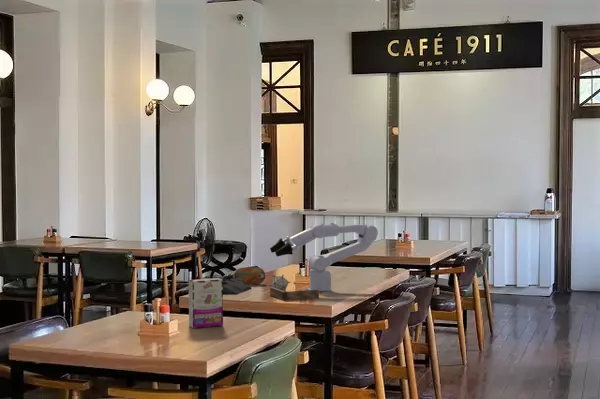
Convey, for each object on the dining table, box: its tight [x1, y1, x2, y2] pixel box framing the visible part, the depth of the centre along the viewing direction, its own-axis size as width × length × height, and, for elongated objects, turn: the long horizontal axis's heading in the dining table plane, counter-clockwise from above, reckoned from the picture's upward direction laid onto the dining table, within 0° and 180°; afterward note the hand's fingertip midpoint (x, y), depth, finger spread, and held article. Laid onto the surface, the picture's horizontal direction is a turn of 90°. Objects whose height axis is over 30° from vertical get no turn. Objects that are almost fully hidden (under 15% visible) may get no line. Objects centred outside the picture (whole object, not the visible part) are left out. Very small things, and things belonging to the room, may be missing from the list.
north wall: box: [282, 289, 320, 301], centre depth 331 cm, size 16×2×4 cm, turn 115°
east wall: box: [269, 286, 287, 301], centre depth 334 cm, size 2×15×4 cm, turn 25°
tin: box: [233, 266, 266, 286], centre depth 375 cm, size 15×3×8 cm, turn 102°
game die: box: [268, 274, 291, 292], centre depth 349 cm, size 9×8×10 cm
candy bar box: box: [188, 277, 224, 329], centre depth 269 cm, size 11×5×16 cm, turn 117°
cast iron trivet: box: [223, 278, 252, 295], centre depth 354 cm, size 15×22×5 cm
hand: (273, 252), depth 351 cm, fingers open, 7 cm apart
